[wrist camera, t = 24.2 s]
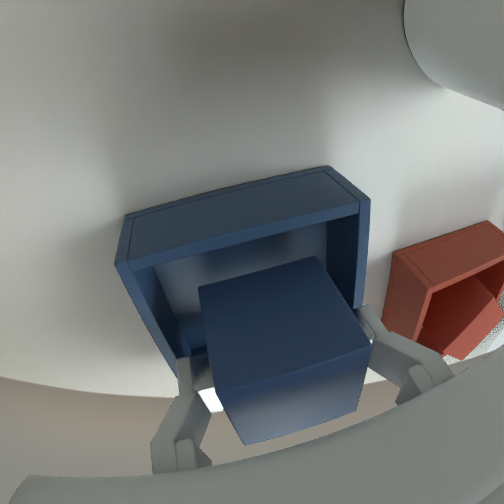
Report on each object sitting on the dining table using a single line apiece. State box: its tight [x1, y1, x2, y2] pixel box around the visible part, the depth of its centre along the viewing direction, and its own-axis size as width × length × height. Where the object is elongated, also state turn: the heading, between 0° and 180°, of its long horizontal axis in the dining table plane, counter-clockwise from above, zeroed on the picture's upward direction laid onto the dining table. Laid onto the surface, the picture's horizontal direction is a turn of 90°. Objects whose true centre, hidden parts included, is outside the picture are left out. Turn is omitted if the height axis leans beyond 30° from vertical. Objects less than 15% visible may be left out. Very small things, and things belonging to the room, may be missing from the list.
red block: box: [422, 275, 504, 360], centre depth 18 cm, size 5×5×5 cm
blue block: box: [198, 256, 372, 446], centre depth 11 cm, size 5×5×5 cm
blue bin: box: [114, 166, 371, 379], centre depth 14 cm, size 9×9×4 cm
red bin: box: [382, 220, 504, 357], centre depth 19 cm, size 9×9×4 cm
